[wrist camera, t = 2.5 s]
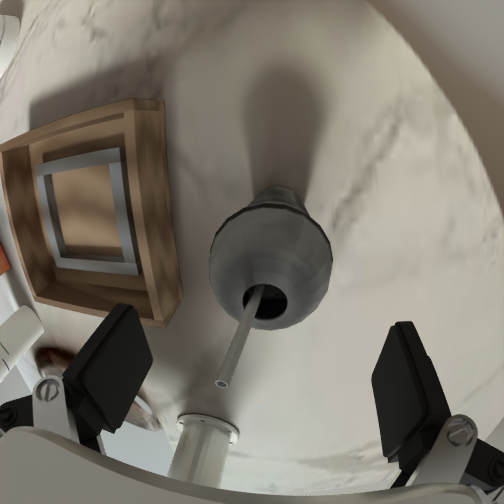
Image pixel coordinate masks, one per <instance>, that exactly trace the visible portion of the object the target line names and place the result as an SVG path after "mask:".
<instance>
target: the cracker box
mask: <svg viewBox="0 0 504 504" xmlns="http://www.w3.org/2000/svg"><path fill="white" fill-rule="evenodd" d="M10 268H11V266H10V264H9V262H8V260H7V258H6V256H5V253H4V251H3V249H2V246H1V244H0V276H1V275H2V274H3V273H5V272H6V271H7V270H9V269H10Z"/></svg>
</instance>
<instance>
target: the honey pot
mask: <svg viewBox="0 0 504 504" xmlns="http://www.w3.org/2000/svg"><path fill="white" fill-rule="evenodd" d="M19 33H20V21H19V19H18V17H15V16H8V15H0V78H1V77H2V75H3V73H4V72H5V70H6V69H7V67H8V65H9V63H10V61H11V58H12V56H13V54H14V51H15V48H16V45H17V42H18V38H19Z"/></svg>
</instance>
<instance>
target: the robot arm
mask: <svg viewBox="0 0 504 504" xmlns="http://www.w3.org/2000/svg"><path fill="white" fill-rule="evenodd" d="M152 362H153V357H152V354H151V351H150V348H149V345H148V343H147V340H146V337H145V334H144V331H143V327H142V324H141V321H140V318H139V315H138V312H137V310H136V309H134V307H133V305H130V304H124V303H117V304H116V305H115V307H114V308H113V309H112V310H111V311H110V313H109V314H108V315H107V316H106V318H105V319H104V320H103V321H102V323H101V324H100V325H99V326H98V328H97V329H96V330H95V332H94V333H93V334H92V335H91V337H90V338H89V339H88V341H87V342H86V343H85V344H84V346H83V347H82V348H81V350H80V351H79V352H78V354H77V355H76V356H75V358H74V359H73V361H72V362H71V363H70V365H69V366H68V367H67V369H66V370H65V372H64V373H63V374H62V376H63V377H64V378H63V379H62V380H61V379H60V378H58V377H57V376H53V375H51V376H46V377H43V378H41V379H40V380H39V381H38V382H37V383H36V384H35V386H34V388H33V393H32V395H29V396H26V397H23V398H19V399H16V400H12V401H9V402H6V403H4V404H3V405H1V406H0V504H504V453H503V452H502V451H500V450H498V449H496V448H495V447H493V446H491V445H489V444H487V443H486V442H484V441H482V440H480V439H478V438H477V436H478V431H477V427H476V424H475V423H474V421H473V420H472V419H471V418H469V417H468V416H466V415H462V414H456V415H454V416H451V412H450V409H449V406H448V403H447V400H446V398H445V395H444V392H443V389H442V386H441V384H440V381H439V378H438V376H437V373H436V371H435V368H434V366H433V363H432V361H431V359H430V357H429V356H427V353H426V351H425V349H424V346H423V344H422V342H421V339H420V337H419V335H418V333H417V330H416V328H415V326H414V324H413V322H411V321H400V322H396V323H395V325H394V326H391V327H390V330H389V333H388V335H387V338H386V341H385V343H384V346H383V349H382V351H381V354H380V356H379V359H378V361H377V364H376V366H375V368H374V371H373V373H372V378H371V382H372V387H373V393H374V398H375V404H376V409H377V415H378V422H379V428H380V435H381V442H382V450H383V455H384V457H387V458H388V463H393V462H399V469H400V470H399V472H398V473H397V474H396V476H395V477H394V479H393V480H392V482H391V483H390V484H389V486H388V487H387V488H386V490H379V491H372V492H365V493H354V494H342V495H325V496H282V495H267V494H255V493H246V492H238V491H230V490H224V489H219V488H220V484H221V479H222V475H223V470H224V466H225V461H226V457H227V452H228V447H229V446H231V445H234V444H235V443H237V441H238V439H239V433H238V431H237V430H236V429H235V428H234V427H233V426H231V425H230V424H228V423H226V422H224V421H222V420H219V419H216V418H213V417H210V416H205V415H198V414H188V415H183V416H181V417H179V419H178V420H177V423H176V426H177V428H178V430H179V431H180V432H181V436H180V439H179V442H178V445H177V448H176V451H175V454H174V457H173V460H172V463H171V465H170V468H169V471H168V474H167V477H165V476H162V475H159V474H155V473H152V472H149V471H145V470H143V469H140V468H137V467H134V466H131V465H128V464H126V463H123V462H121V461H118V460H116V459H113V458H111V457H108V456H107V455H106V452H105V449H104V446H103V442H102V439H101V435H100V433H101V431H102V429H103V430H106V431H108V432H111V433H113V434H114V433H115V431H116V429H118V428H120V427H121V425H122V423H123V421H124V419H125V417H126V415H127V413H128V411H129V409H130V407H131V405H132V403H133V401H134V399H135V397H136V395H137V393H138V391H139V389H140V387H141V385H142V383H143V381H144V379H145V377H146V375H147V373H148V371H149V369H150V367H151V365H152Z"/></svg>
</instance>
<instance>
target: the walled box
mask: <svg viewBox="0 0 504 504" xmlns="http://www.w3.org/2000/svg"><path fill="white" fill-rule="evenodd" d="M0 174H1V181H2V187H3V193H4V199H5V204H6V209H7V214H8V218H9V223H10V227H11V231H12V235H13V238H14V242H15V245H16V249H17V252H18V256H19V259H20V262H21V265H22V268H23V271H24V274H25V277H26V279H27V282H28V285H29V287H30V290H31V293H32V295H33V298H34V300H35V301H36V302H40V303H43V304H47V305H51V306H55V307H59V308H63V309H67V310H71V311H75V312H80V313H84V314H89V315H93V316H98V317H103V318H106V316H107V315H108V314H109V313H110V311H111V310H112V309H113V308H114V307H115V305H116V304H117V303H124V304H130V305H133V307H134V309H136V310H137V312H138V315H139V318H140V321H141V324H142V325H147V326H153V327H159V328H166V326H167V324H168V323H169V321H170V319H171V317H172V316H173V314H174V312H175V310H176V309H177V307H178V305H179V304H180V302H181V300H182V298H183V291H182V285H181V279H180V272H179V265H178V258H177V251H176V244H175V236H174V227H173V219H172V210H171V200H170V189H169V178H168V165H167V150H166V132H165V104H164V102H160V101H153V100H145V99H136V98H133V99H128V100H124V101H120V102H116V103H112V104H108V105H104V106H100V107H97V108H93V109H90V110H87V111H83V112H80V113H77V114H74V115H71V116H68V117H65V118H62V119H59V120H57V121H54V122H51V123H49V124H46V125H43V126H41V127H38V128H36V129H33V130H31V131H29V132H26V133H24V134H22V135H20V136H17V137H15V138H13V139H11V140H9V141H7V142H5V143H3V144H1V145H0Z"/></svg>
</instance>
